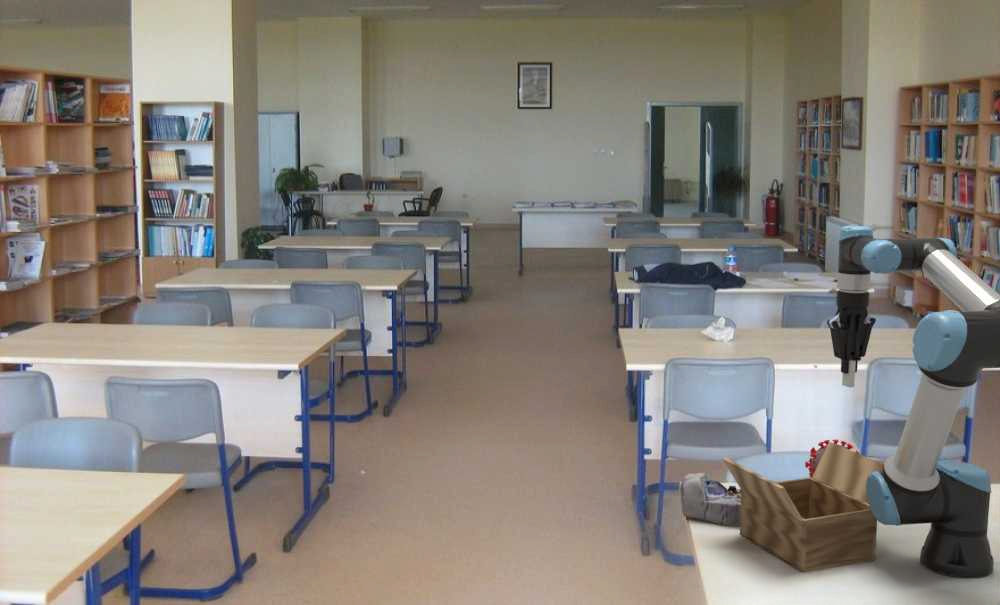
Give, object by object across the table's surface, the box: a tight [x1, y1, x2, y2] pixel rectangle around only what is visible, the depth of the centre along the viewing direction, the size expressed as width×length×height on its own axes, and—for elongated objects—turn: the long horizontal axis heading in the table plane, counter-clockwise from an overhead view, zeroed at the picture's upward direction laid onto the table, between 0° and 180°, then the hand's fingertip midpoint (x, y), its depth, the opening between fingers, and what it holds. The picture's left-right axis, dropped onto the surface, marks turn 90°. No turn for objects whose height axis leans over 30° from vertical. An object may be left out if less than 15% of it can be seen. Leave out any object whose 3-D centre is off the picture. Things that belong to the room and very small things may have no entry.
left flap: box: [721, 456, 803, 521], centre depth 249 cm, size 23×10×1 cm
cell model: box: [679, 472, 741, 527], centre depth 274 cm, size 13×11×20 cm
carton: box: [739, 476, 878, 574], centre depth 255 cm, size 24×20×12 cm
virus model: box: [804, 438, 860, 490], centre depth 291 cm, size 14×15×15 cm
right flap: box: [812, 441, 884, 505], centre depth 258 cm, size 23×10×1 cm
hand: (848, 385), depth 267 cm, fingers closed
